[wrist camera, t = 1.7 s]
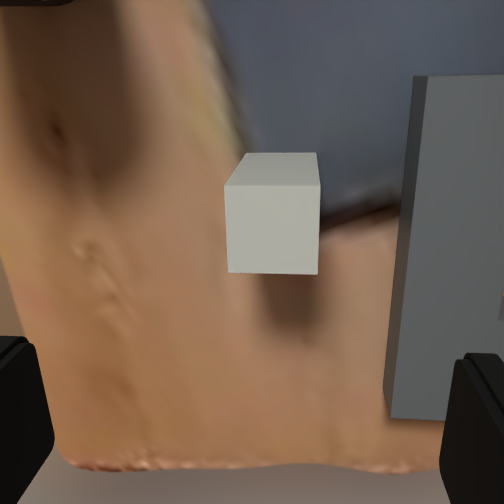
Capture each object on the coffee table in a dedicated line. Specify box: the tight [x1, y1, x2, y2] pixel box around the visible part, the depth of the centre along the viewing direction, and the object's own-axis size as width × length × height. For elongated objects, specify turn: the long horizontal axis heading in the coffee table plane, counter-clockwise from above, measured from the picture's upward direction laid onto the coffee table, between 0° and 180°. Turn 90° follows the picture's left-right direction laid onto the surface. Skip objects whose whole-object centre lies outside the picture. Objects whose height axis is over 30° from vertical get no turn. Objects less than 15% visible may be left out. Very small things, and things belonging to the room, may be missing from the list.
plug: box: [224, 153, 320, 275], centre depth 23 cm, size 4×4×8 cm
